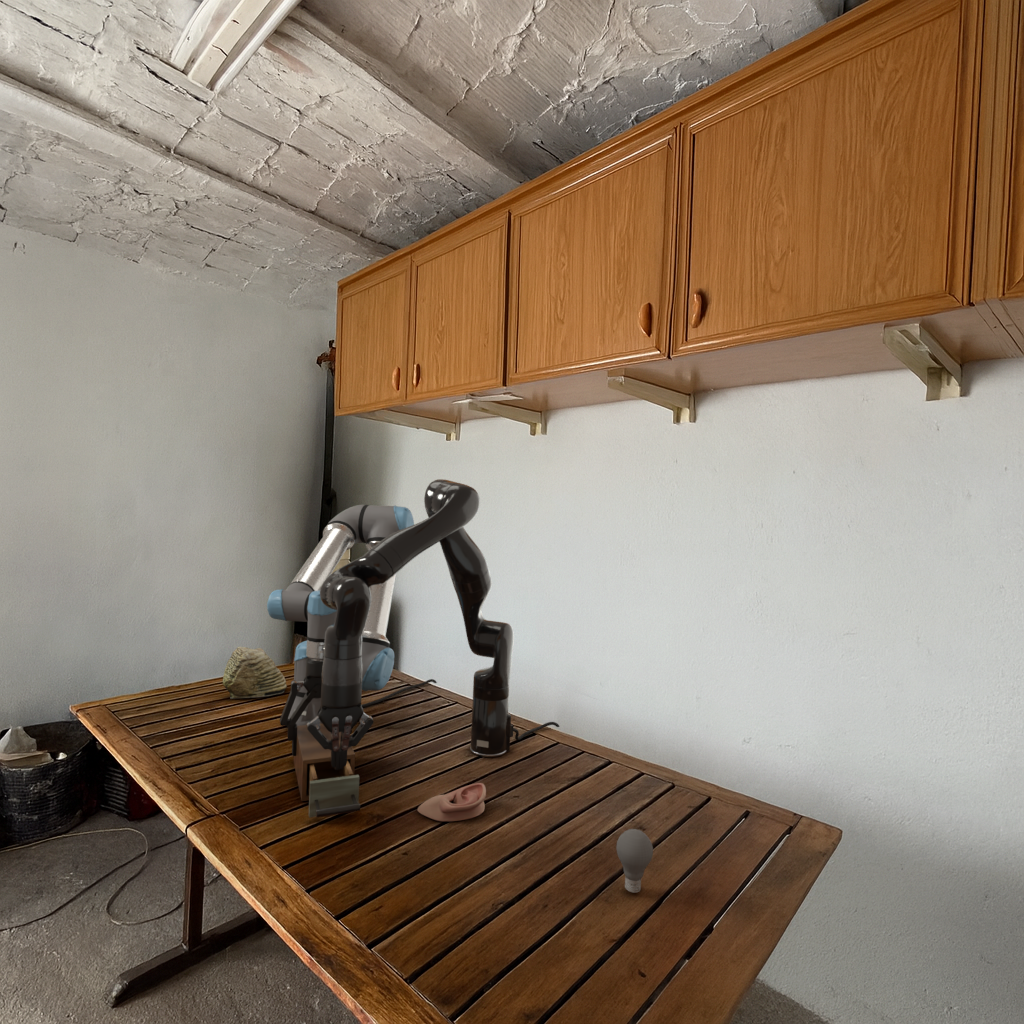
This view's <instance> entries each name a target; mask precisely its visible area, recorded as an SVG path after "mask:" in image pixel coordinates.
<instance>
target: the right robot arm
mask: <svg viewBox="0 0 1024 1024" xmlns="http://www.w3.org/2000/svg"><path fill="white" fill-rule="evenodd" d="M423 500H424V501H423V502H424V508H425V512H426V515H427V518H426V519H424V520H422V521H419V522H417V523H414V525H412V526H410V527H407V528H404V529H402V530H399V531H397V532H395V533H393V534H391V535H389V536H387V537H386V538H384V539H383V540H382V541H380V542H379V543H378V544H377V545H375V546H374V547H373V548H372V549H370V550H368V551H367V552H365V553H364V554H363V555H362V556H360V557H358V558H356V559H354V560H352V561H350V562H348V563H347V564H345V565H343V566H342V567H339V568H338V569H336V570H334V571H333V572H332V573H331V575H329V576H328V577H327V578H326V580H325V581H324V582H323V584H322V586H321V589H320V598H321V601H322V602H323V604H324V605H326V606H327V607H329V608H331V609H334V610H337V615H336V620H335V624H332V625H330V626H329V627H328V628H327V629H326V632H325V643H324V660H323V666H322V674H321V678H322V686H321V707H320V709H319V711H318V716H317V717H316V718H314V719H313V720H312V721H308V722H307V723H306V725H307V729H308V731H309V732H310V733H311V734H312V735H313V737H314V738H315V739H316V740H317V741H318V742H319V744H320V745H321V746H322V747H323V748H324V749H330V750H331V765H332V767H334V768H335V770H341V769H343V766H346V764H347V750H348V748H349V747H351V746H352V747H356V746H358V744H359V743H360V742H361V740H362V739H363V738H364V736H365V735H366V734H367V733H368V731H369V730H370V728H372V726H373V725H374V723H375V720H374V719H373V717H372V716H371V715H370V714H367V713H365V711H364V707H362V706H361V705H362V694H363V693H362V692H363V690H362V670H363V666H362V634H363V630H364V627H365V625H366V621H367V617H368V613H369V610H370V605H371V592H370V588H369V587H370V586H372V585H379V584H383V583H385V582H387V581H388V580H389V579H390V578H392V577H393V576H394V575H395V574H396V575H397V574H398V573H399V572H400V571H401V570H402V569H404V568H405V566H407V565H408V564H409V563H410V562H412V561H413V560H414V559H415V558H417V557H419V555H420V554H422V553H424V552H426V551H427V550H428V549H429V548H431V547H433V546H435V545H436V544H437V543H439V544H440V547H441V551H442V553H443V556H444V559H445V561H446V565H447V568H448V572H449V576H450V578H451V583H452V586H453V588H454V591H455V593H456V597H457V600H458V603H459V607H460V610H461V615H462V618H463V619H462V620H463V624H464V629H465V634H466V639H467V643H468V647H469V649H470V651H471V653H473V654H474V655H476V656H478V657H484V658H490V659H493V662H492V666H488V667H483V668H480V669H478V670H476V671H475V672H474V674H473V683H472V685H473V686H472V706H471V707H472V709H471V729H470V730H471V732H470V747H469V751H470V752H471V753H472V754H473V755H475V756H477V757H481V758H496V757H497V758H498V757H502V756H504V755H506V753H510V749H511V738H513V737H514V739H515V741H520V740H522V739H523V738H525V737H526V736H528V735H530V734H532V733H535V732H537V731H540V730H542V729H544V728H547V727H549V726H554V727H556V728H560V725H559V723H557V722H555V721H549V722H545V723H543V724H541V725H539V726H536V727H534V728H532V729H529V730H526V731H524V732H522V734H521V735H520V732H519V730H518V729H517V728H515V726H514V725H513V724H512V714H510V713H509V704H510V703H509V700H510V679H511V675H512V668H513V667H512V665H513V653H514V644H515V633H514V628H513V626H512V625H511V624H510V623H508V622H504V621H498V620H488V619H486V618H485V617H484V615H483V610H482V609H483V606H484V604H485V602H486V601H487V599H488V597H489V595H490V593H491V590H492V586H493V580H492V576H491V575H492V574H491V572H490V568H489V564H488V561H487V559H486V557H485V555H484V553H483V551H482V550H481V549H480V547H479V546H478V544H477V543H476V542H475V541H474V539H472V537H471V536H470V535H469V533H468V532H467V530H466V529H465V527H466V526H467V525H468V524H469V523H470V522H472V521H473V520H474V519H475V517H476V516H477V514H478V512H479V509H480V506H481V505H480V504H481V499H480V496H479V493H478V491H477V490H476V489H475V488H474V487H472V486H470V485H468V484H464V483H461V482H458V481H453V480H449V479H440V478H439V479H434V480H432V481H431V482H430V483H429V484H428V485H427V487H426V489H425V492H424V499H423ZM320 721H321V722H322V724H323V725H324V726H325V728H326V729H327V730H328V731H329V732H330V735H331V740H327V738H326V737H325V736H324V735H323V734H322V732H321V731H320V728H321V726H320ZM357 723H359V724H358V726H357V727H356V725H357ZM355 727H356V729H355V730H354V731H353V729H354V728H355ZM351 730H352V731H353V732H352V733H351V734H350V732H351ZM339 732H341V738H340V747H339ZM514 733H515V735H514Z"/></svg>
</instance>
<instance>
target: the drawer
mask: <svg viewBox="0 0 1024 1024" xmlns="http://www.w3.org/2000/svg"><path fill="white" fill-rule="evenodd" d="M307 788H308V792H309V800H308V818H323V817H329V816H335V815H342V814H349V813H354V812H361V804H360V800H359V799H360V775H359V774H354V775H353V772H352V769H351V767H350V764H349V762H348V759H347V764H346V766H343V769H341V770H335V768H334V767H332V765H331V761H327V762H319V763H311V764H307Z"/></svg>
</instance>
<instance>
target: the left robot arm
mask: <svg viewBox="0 0 1024 1024" xmlns="http://www.w3.org/2000/svg"><path fill="white" fill-rule="evenodd" d="M414 521H415V520H414V516H413V514H412V512H411V510H410V508H408V507H406V506H400V505H399V506H397V505H381V504H380V505H379V504H377V505H376V504H357V505H353V506H350V507H348V508H346V509H344V510H342V511H341V512H339V513H338V514H336V515H335V516H334V517H333V518H332V519H330V520H329V521H328V523H327V525H326V526H325V527H324V528H323V530H322V538H321V539H320V541H319V542H318V544H317V545H316V546H315V548H314V549H313V551H312V552H311V553H310V555H309V557H308V558H307V559H306V561H305V562H304V563H303V565H302V567H300V569H299V571H298V572H297V573H296V575H295V576H294V578H293V579H292V580H291V582H290V583H289V585H288V586H287V588H286V589H283V588H281V589H275V590H273V591H272V592H271V593H270V594H269V596H268V599H267V603H266V604H267V605H266V608H267V613H268V615H269V617H270V618H272V619H273V620H279V621H284V622H304V623H307V633H306V634H307V635H306V640H304V641H302V642H299V643H298V644H297V645H296V647H295V652H294V653H295V654H294V659H293V661H294V672H293V680H291V681H290V691H289V694H288V696H287V699H286V701H285V705H284V707H283V710H282V712H281V714H280V717H279V723H280V725H281V726H283V727H284V726H285V727H286V728H287V735H286V737H287V740H288V742H291V753H292V757H294V756H296V748H297V726H303V725H306V723H307V722H308V721H312V720H313V719H314V718H316V717H317V716H318V711H319V709H320V707H321V686H322V678H321V674H322V666H323V660H324V643H325V632H326V629H327V628H328V627H329V626H330V625H332V624H335V620H336V615H337V610H334V609H331V608H329V607H327V606H326V605H324V604H323V602H322V601H321V598H320V589H321V586H322V584H323V582H324V581H325V580H326V578H327V577H328V576H329V575H331V574H332V573H333V572H334V571H335V569H336V567H337V565H338V564H339V563H340V561H341V559H342V558H343V556H344V554H345V553H346V551H348V550H350V549H352V548H353V546H354V545H355V544H365V548H366V549H367V550H368V551H369V550H370V549H372V548H373V547H374V546H375V545H377V544H378V543H379V542H380V541H382V540H383V539H384V538H386V537H387V536H389V535H391V534H393V533H395V532H397V531H399V530H402V529H404V528H407V527H410V526H412V525H415V522H414ZM396 577H397V573H396V574H395V575H394V576H393V577H392V578H390V579H389V580H388V581H387V582H385V583H383V584H379V585H372V586H370V587H369V588H370V592H371V605H370V610H369V613H368V617H367V621H366V625H365V627H364V630H363V634H362V666H363V670H362V691H364V692H368V691H375V692H377V691H381V690H382V689H384V688H385V686H386V685H387V684H388V683H389V681H390V678H391V677H392V676H391V675H392V673H393V671H394V666H395V652H394V650H393V649H392V648H391V647H390V645H391V642H390V641H389V639H388V638H387V629H388V625H389V619H390V613H391V608H392V607H391V606H392V601H393V595H394V589H395V583H396ZM430 683H433V684H437V683H438V681H436V679H433V678H430V679H428V680H425V681H423V682H420V683H416V684H413V685H409V686H406V687H404V688H400V689H399V690H396V691H394V692H392V693H390V694H387V695H385V696H383V697H381V698H379V699H375V700H372V701H369V702H366V703H361V706H362V708H366V707H369V706H372V705H375V704H378V703H381V702H383V701H386V700H388V699H390V698H392V697H395V696H396V695H399V694H401V693H403V692H405V691H409V690H411V689H415V688H418V687H423V686H425V685H428V684H430ZM320 724H322V722H321V721H320ZM352 734H353V729H352V730H351V732H350V735H352Z"/></svg>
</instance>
